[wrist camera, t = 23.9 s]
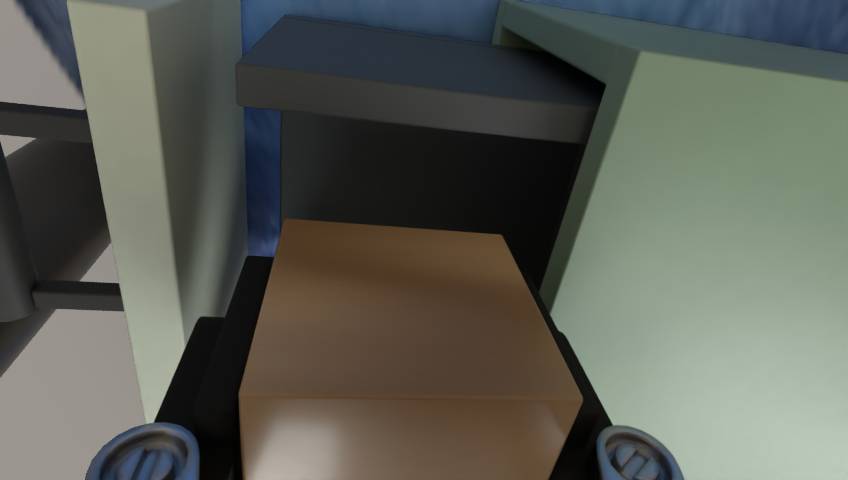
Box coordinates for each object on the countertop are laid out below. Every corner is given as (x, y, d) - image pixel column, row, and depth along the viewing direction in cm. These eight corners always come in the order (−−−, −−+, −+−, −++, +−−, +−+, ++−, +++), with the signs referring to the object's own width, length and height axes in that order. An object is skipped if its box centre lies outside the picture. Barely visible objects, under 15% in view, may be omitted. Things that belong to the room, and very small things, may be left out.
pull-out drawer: (85, 282, 19) (-58, 462, 13) (7, -56, 14) (-323, -56, 7) (533, 304, 22) (607, 456, 16) (619, 38, 17) (790, 99, 10)
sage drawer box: (438, 298, 23) (485, 497, 15) (500, -2, 17) (640, 49, 8) (717, 312, 25) (889, 488, 17) (860, 56, 19) (1235, 139, 11)
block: (282, 381, 12) (247, 587, 8) (284, 217, 10) (237, 394, 6) (462, 385, 13) (509, 574, 9) (502, 233, 11) (586, 399, 7)
